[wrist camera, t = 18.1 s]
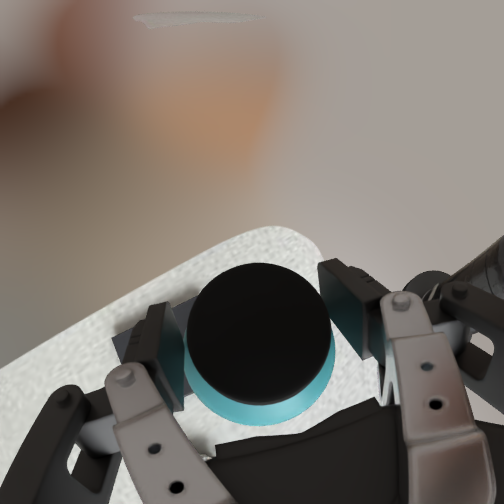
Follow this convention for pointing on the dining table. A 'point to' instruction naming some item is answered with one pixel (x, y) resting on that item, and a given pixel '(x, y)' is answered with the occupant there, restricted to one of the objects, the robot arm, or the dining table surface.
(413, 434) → the robot arm
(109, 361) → the dining table surface
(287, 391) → the beverage bottle
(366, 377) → the dining table surface
